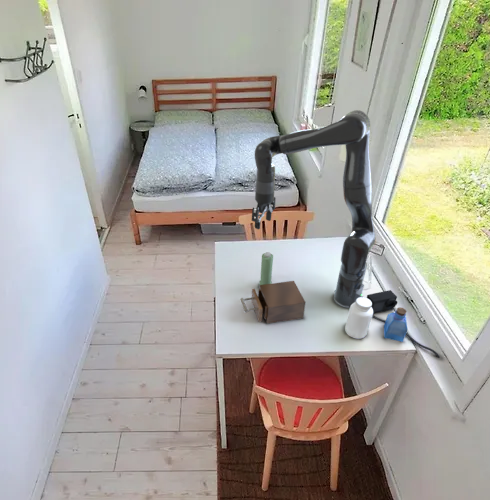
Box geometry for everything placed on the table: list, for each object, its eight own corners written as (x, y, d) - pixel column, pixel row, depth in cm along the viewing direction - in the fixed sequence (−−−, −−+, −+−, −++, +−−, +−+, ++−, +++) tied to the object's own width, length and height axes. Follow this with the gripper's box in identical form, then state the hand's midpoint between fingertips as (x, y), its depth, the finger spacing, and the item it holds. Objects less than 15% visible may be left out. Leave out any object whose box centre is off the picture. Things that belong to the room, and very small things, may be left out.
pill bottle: (367, 327, 145) (376, 297, 136) (365, 342, 139) (374, 312, 130) (346, 321, 148) (353, 292, 139) (343, 335, 142) (350, 306, 133)
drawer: (245, 323, 147) (246, 311, 143) (238, 302, 157) (238, 290, 153) (292, 317, 149) (294, 304, 145) (282, 296, 159) (284, 284, 155)
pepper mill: (273, 287, 165) (276, 254, 155) (265, 293, 162) (268, 259, 152) (264, 281, 168) (267, 248, 158) (256, 287, 166) (258, 253, 155)
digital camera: (371, 316, 149) (375, 303, 145) (363, 307, 153) (367, 294, 149) (394, 311, 151) (399, 298, 147) (386, 302, 155) (390, 289, 151)
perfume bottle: (401, 329, 143) (410, 306, 136) (402, 341, 138) (411, 318, 131) (383, 326, 145) (391, 302, 138) (384, 337, 140) (392, 314, 133)
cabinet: (267, 323, 148) (268, 307, 143) (258, 300, 159) (259, 285, 154) (303, 318, 150) (305, 302, 145) (291, 296, 160) (293, 280, 155)
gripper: (263, 198, 145) (261, 234, 154) (282, 185, 154) (279, 219, 163) (246, 193, 149) (246, 228, 159) (266, 180, 158) (264, 214, 167)
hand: (263, 224), depth 161 cm, fingers open, 8 cm apart
